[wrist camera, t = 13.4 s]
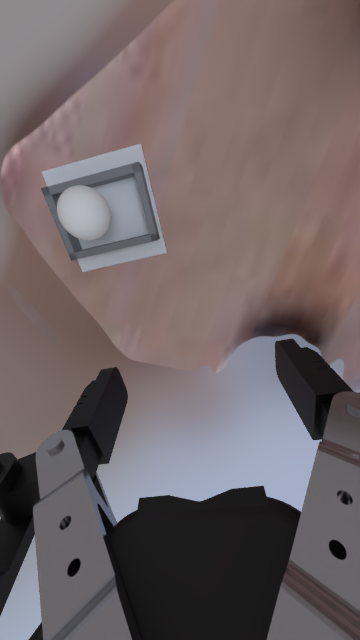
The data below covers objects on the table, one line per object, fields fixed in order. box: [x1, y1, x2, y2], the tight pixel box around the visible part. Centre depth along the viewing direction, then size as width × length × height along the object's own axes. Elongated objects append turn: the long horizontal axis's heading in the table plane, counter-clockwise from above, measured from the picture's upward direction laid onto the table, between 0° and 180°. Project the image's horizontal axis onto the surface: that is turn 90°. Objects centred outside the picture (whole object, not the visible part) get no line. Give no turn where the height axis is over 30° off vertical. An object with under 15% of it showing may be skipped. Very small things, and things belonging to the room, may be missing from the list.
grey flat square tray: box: [41, 144, 167, 272], centre depth 34 cm, size 15×15×3 cm
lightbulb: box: [57, 185, 112, 240], centre depth 30 cm, size 6×6×11 cm
